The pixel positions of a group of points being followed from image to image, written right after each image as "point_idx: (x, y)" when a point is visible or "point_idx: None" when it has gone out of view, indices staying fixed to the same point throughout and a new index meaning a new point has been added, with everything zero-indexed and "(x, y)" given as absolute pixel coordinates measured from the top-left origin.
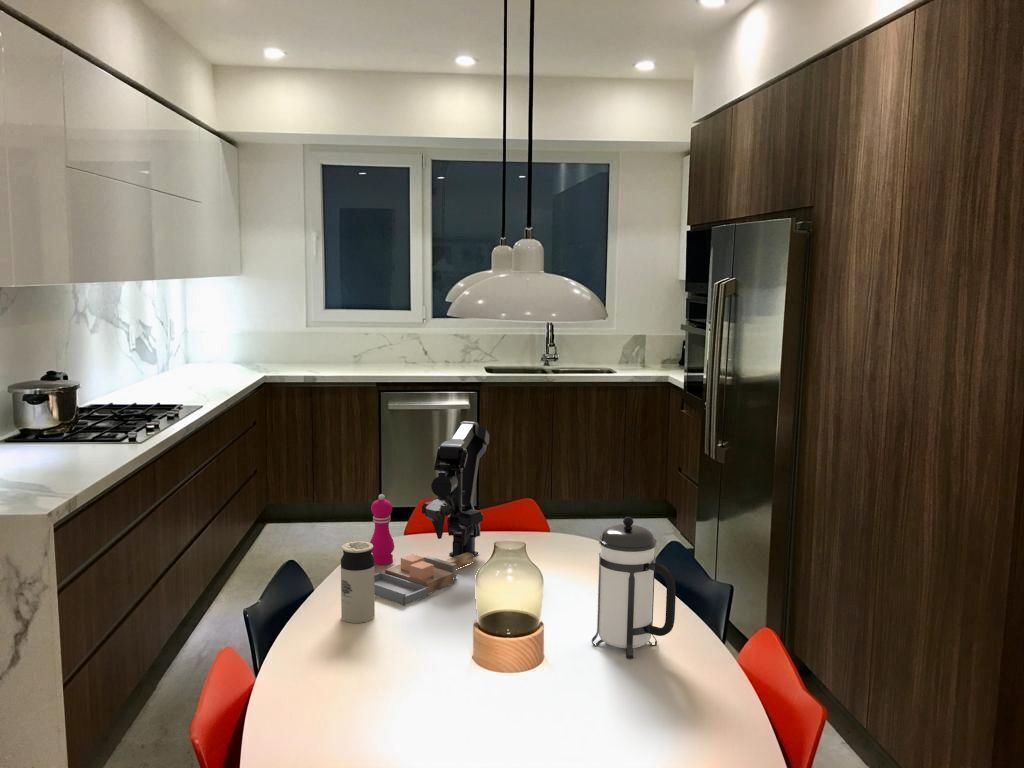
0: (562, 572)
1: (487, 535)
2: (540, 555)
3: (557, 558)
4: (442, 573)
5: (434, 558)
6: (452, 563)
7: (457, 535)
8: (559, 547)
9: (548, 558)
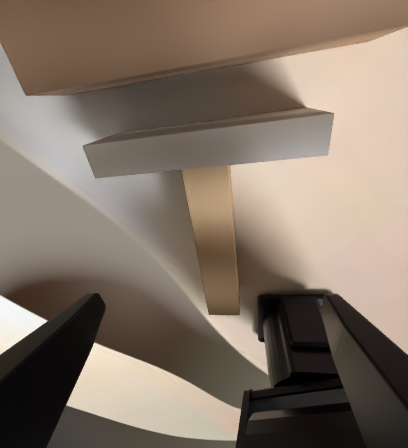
0: None
1: None
2: (155, 380)
3: (122, 381)
4: (39, 28)
5: (253, 153)
6: (115, 171)
7: (323, 382)
8: (171, 410)
9: (131, 376)
